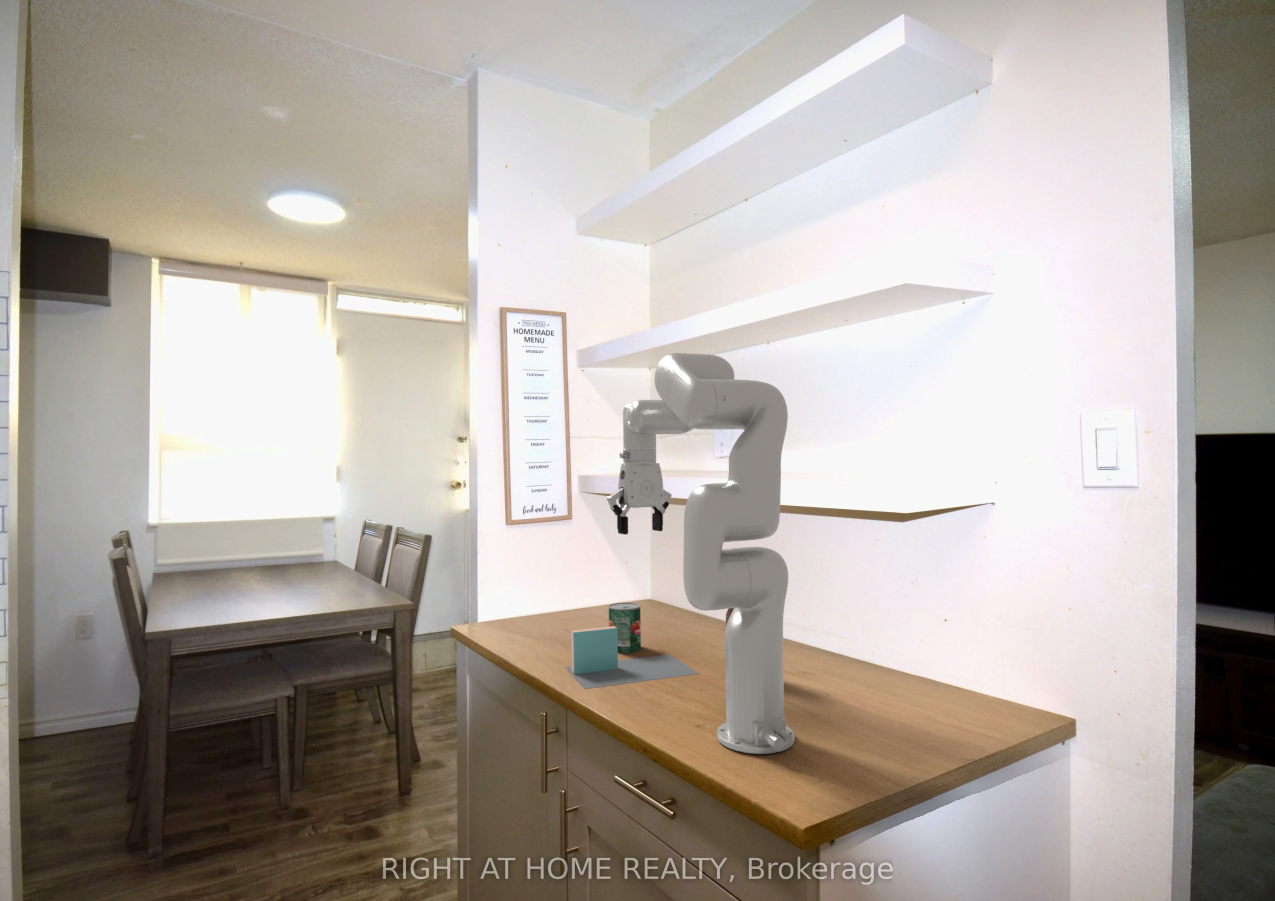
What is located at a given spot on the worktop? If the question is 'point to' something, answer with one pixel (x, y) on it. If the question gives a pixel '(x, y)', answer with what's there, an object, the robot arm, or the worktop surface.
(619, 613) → the canned tomato
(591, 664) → the tile
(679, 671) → the mat
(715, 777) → the worktop surface
